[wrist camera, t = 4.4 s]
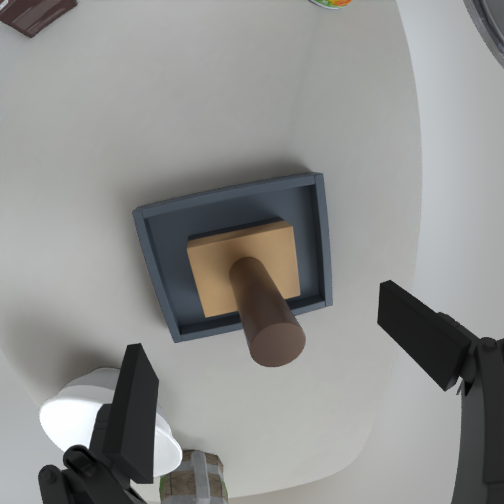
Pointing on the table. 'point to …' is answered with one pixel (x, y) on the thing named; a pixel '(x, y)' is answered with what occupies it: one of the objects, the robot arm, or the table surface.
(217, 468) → the mug
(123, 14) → the table surface
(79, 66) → the table surface
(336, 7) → the supplement bottle
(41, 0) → the box
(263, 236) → the peg on wooden base
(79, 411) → the bowl
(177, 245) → the tray
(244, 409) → the table surface
